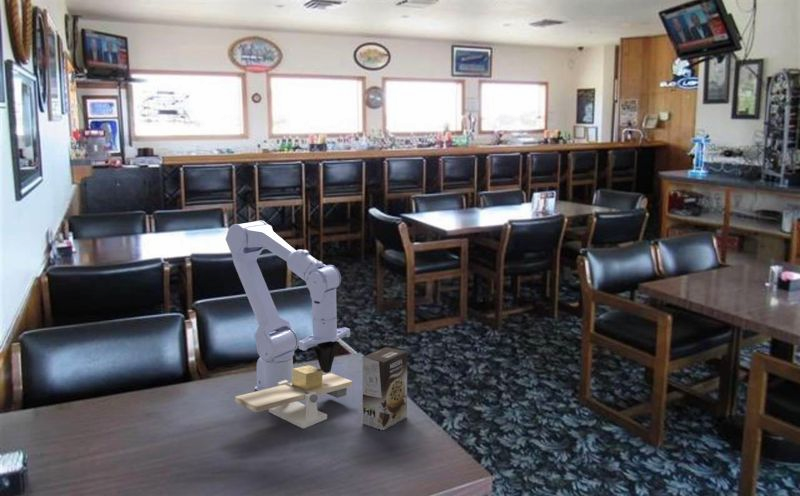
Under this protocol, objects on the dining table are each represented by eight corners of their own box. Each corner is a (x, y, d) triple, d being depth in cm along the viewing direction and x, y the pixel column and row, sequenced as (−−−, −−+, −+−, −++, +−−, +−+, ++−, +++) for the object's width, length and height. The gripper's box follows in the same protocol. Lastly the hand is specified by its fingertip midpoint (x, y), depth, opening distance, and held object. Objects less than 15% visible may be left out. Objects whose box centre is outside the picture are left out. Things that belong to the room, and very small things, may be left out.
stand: (268, 411, 155) (267, 384, 153) (292, 402, 160) (291, 376, 158) (303, 428, 146) (302, 399, 145) (327, 418, 151) (326, 390, 150)
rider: (291, 385, 154) (292, 368, 153) (308, 381, 157) (309, 365, 157) (305, 390, 150) (306, 373, 150) (321, 386, 154) (322, 370, 154)
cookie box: (383, 431, 145) (383, 362, 142) (361, 423, 148) (360, 356, 146) (408, 417, 152) (408, 351, 149) (386, 410, 156) (386, 345, 153)
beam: (234, 412, 145) (234, 395, 144) (329, 386, 165) (330, 372, 165) (256, 423, 139) (256, 406, 139) (352, 395, 160) (353, 380, 159)
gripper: (311, 327, 147) (313, 384, 150) (358, 313, 158) (359, 367, 160) (292, 321, 152) (294, 376, 155) (338, 308, 163) (339, 360, 165)
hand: (325, 371), depth 158 cm, fingers closed
